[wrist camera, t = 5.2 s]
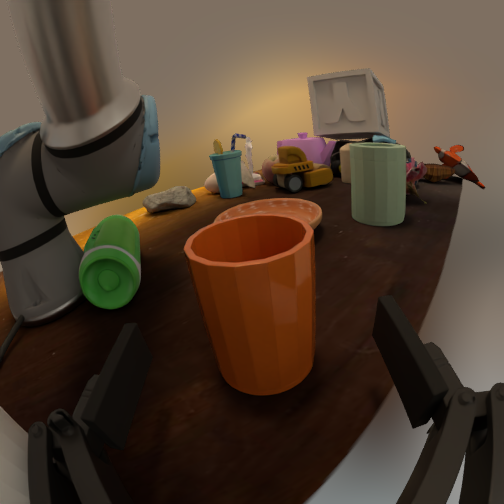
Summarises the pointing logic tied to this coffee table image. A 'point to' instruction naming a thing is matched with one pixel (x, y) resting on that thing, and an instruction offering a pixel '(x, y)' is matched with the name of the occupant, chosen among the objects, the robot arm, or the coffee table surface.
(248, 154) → the figurine
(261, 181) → the smartphone
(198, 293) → the orange cup
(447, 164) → the fish
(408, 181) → the flower
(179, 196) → the decorative stone
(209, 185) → the egg
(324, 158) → the teapot
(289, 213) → the saucer
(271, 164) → the apple
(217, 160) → the cup
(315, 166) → the toy roller
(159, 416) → the coffee table surface
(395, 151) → the green jar
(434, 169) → the croissant
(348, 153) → the candle
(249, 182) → the arrowhead
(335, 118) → the decorative block
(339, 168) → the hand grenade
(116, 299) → the speaker
